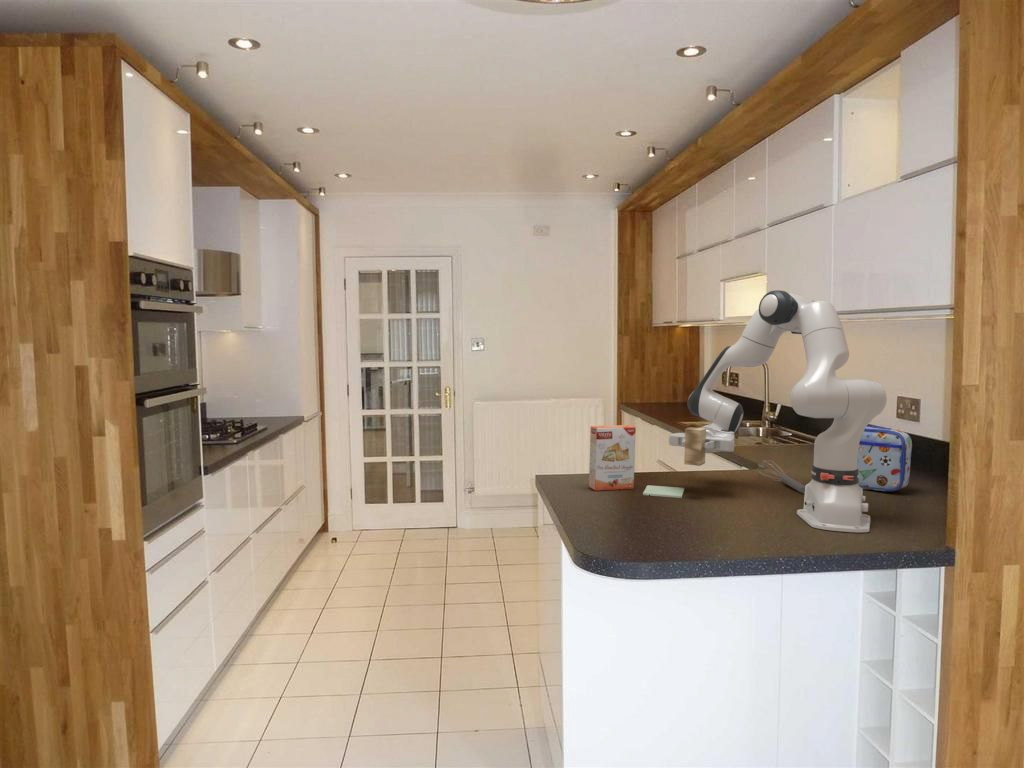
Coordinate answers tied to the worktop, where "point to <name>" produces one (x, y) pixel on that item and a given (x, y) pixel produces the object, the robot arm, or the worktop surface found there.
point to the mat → (663, 491)
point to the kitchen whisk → (787, 480)
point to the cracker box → (612, 457)
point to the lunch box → (884, 459)
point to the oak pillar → (694, 446)
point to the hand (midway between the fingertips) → (694, 445)
